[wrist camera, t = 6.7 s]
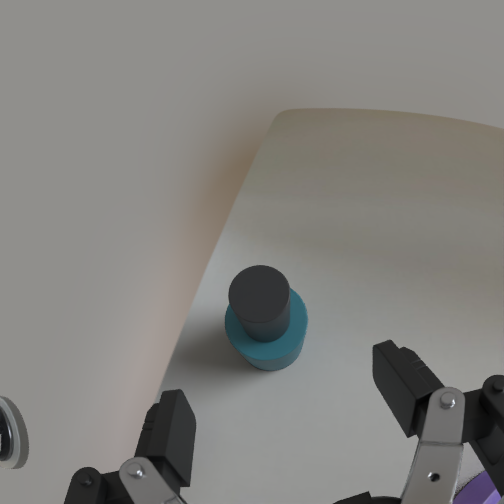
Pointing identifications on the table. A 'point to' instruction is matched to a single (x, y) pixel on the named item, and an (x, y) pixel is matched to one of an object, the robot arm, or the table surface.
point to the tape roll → (479, 491)
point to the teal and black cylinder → (265, 318)
